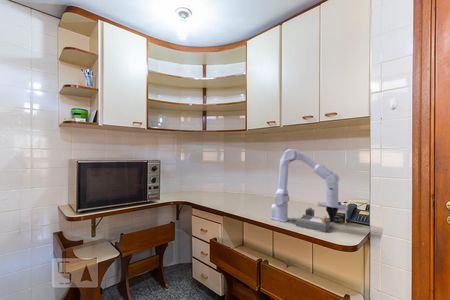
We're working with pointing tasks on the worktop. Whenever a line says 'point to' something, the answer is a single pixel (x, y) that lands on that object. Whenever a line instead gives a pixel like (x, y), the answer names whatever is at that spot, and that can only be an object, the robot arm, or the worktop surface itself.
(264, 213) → the worktop surface
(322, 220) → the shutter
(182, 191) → the worktop surface
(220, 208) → the worktop surface
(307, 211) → the plug
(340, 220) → the medicine bottle
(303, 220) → the socket
